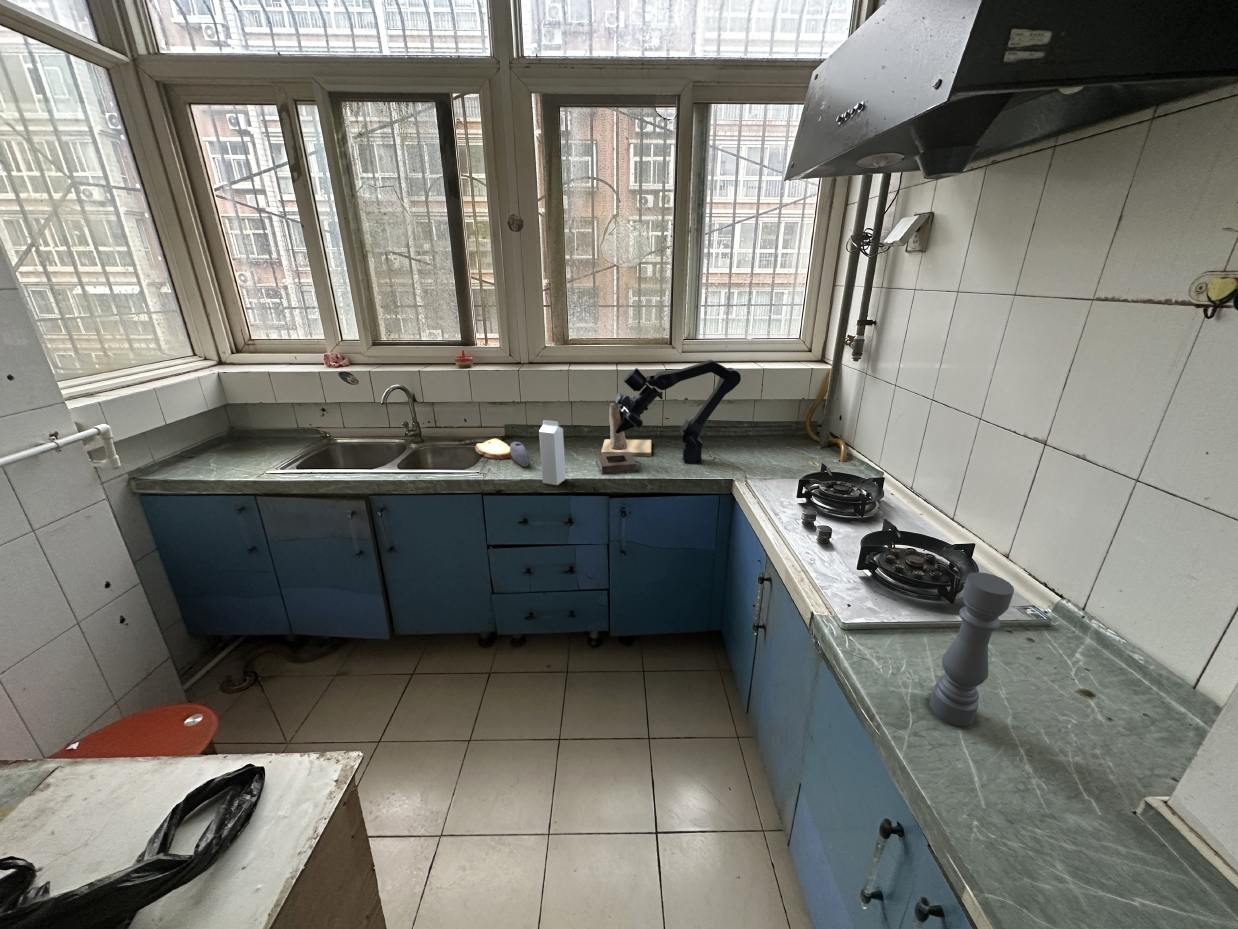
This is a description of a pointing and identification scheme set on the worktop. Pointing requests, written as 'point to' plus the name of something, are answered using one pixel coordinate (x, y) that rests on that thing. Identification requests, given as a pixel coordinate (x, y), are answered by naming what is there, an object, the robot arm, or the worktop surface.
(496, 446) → the slice of bread
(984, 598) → the candle holder
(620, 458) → the holder
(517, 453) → the perforated stone tool
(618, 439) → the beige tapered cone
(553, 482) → the milk
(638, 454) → the board
